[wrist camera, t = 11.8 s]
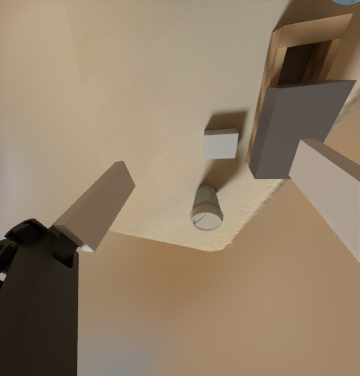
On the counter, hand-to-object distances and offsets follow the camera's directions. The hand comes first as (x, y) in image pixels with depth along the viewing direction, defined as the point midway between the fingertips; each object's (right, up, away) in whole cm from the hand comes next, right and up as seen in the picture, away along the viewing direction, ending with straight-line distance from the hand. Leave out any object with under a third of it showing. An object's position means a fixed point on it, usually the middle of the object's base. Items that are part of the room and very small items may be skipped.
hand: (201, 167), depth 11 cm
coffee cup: (+7, -3, +33) cm, 34 cm away
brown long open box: (+18, +14, +17) cm, 29 cm away
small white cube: (+8, +10, +23) cm, 26 cm away
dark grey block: (+18, +11, +18) cm, 28 cm away
